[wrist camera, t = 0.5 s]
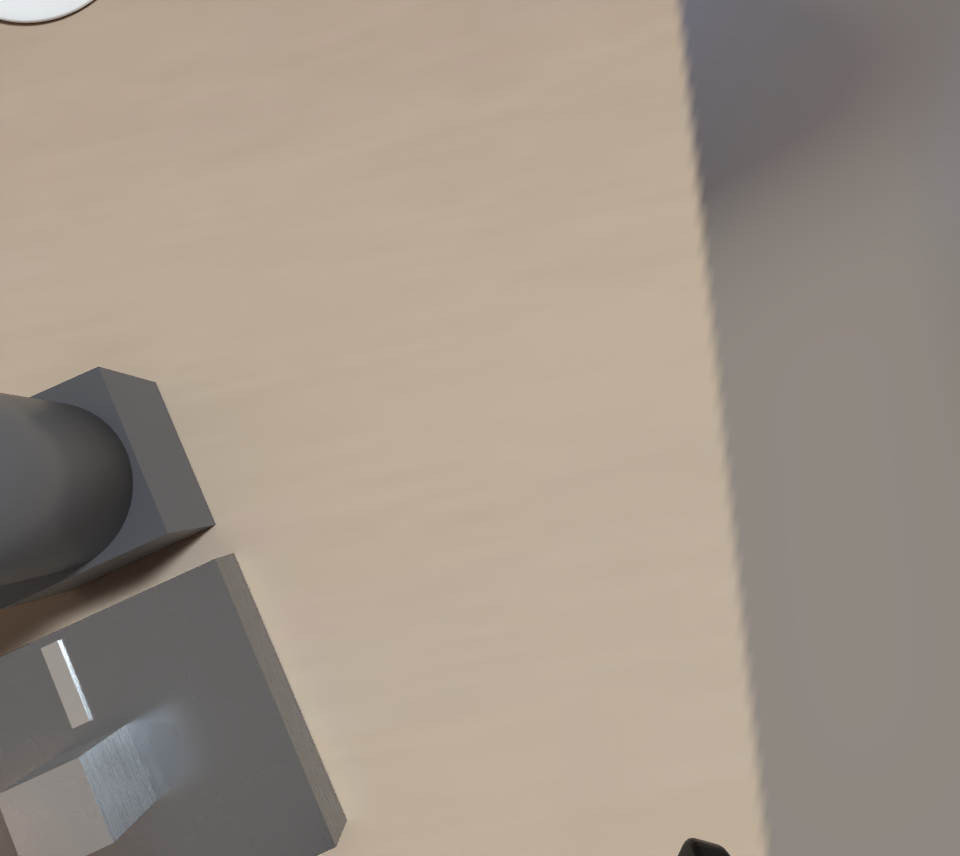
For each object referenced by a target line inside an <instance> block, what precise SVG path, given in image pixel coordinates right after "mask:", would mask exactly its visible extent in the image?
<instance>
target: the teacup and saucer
mask: <svg viewBox="0 0 960 856" xmlns="http://www.w3.org/2000/svg"><path fill="white" fill-rule="evenodd" d="M92 1H93V0H0V20H3V21H9V22H16V23H36V22H44V21H49V20H53V19H57V18H60V17H63V16H66V15H68V14H71V13H73V12H75V11H77V10H79V9H81V8H83V7H84V6H86V5H87V4H89V3H90V2H92Z"/></svg>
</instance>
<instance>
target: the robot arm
mask: <svg viewBox="0 0 960 856" xmlns="http://www.w3.org/2000/svg"><path fill="white" fill-rule="evenodd" d="M678 856H730V855H729V853H728V852H727V851H726V850H725V849H724V848H723V847H722V846H720V845H717V844H714V843H710V842H707V841H703V840H699V839H696V838H689V839H688V840H686V841H685V843H684V844H683V846H682V848H681V850H680V852H679V854H678Z"/></svg>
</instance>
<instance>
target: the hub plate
mask: <svg viewBox="0 0 960 856" xmlns="http://www.w3.org/2000/svg"><path fill="white" fill-rule="evenodd" d="M346 821H347V820H346V818H345V815H344V813H343V810H342V808H341V806H340V803H339V801H338V799H337V796H336V794H335V792H334V789H333V787H332V784H331V782H330V780H329V777H328V775H327V773H326V770H325V768H324V766H323V763H322V761H321V758H320V756H319V754H318V751H317V749H316V747H315V744H314V742H313V739H312V737H311V735H310V732H309V730H308V728H307V725H306V723H305V721H304V718H303V716H302V713H301V711H300V709H299V706H298V704H297V702H296V699H295V697H294V695H293V692H292V690H291V687H290V685H289V683H288V680H287V678H286V676H285V673H284V671H283V669H282V666H281V664H280V661H279V659H278V657H277V654H276V652H275V650H274V647H273V645H272V643H271V640H270V638H269V635H268V633H267V631H266V628H265V626H264V624H263V621H262V619H261V616H260V614H259V612H258V609H257V607H256V605H255V602H254V600H253V598H252V595H251V593H250V590H249V588H248V586H247V583H246V581H245V579H244V576H243V574H242V572H241V569H240V567H239V564H238V562H237V560H236V557H235V555H234V553H233V554H229V555H226V556H223V557H220V558H217V559H214V560H212V561H210V562H207V563H205V564H203V565H201V566H199V567H196V568H194V569H192V570H190V571H188V572H185V573H183V574H181V575H179V576H177V577H174V578H172V579H170V580H168V581H166V582H164V583H161V584H159V585H157V586H155V587H153V588H150V589H148V590H146V591H144V592H142V593H139V594H137V595H135V596H133V597H131V598H128V599H126V600H124V601H122V602H120V603H117V604H115V605H113V606H111V607H109V608H106V609H104V610H102V611H100V612H98V613H95V614H93V615H91V616H89V617H87V618H84V619H82V620H80V621H78V622H76V623H73V624H71V625H69V626H67V627H65V628H62V629H60V630H58V631H56V632H54V633H52V634H49V635H47V636H45V637H43V638H41V639H38V640H36V641H34V642H32V643H30V644H27V645H25V646H23V647H21V648H19V649H16V650H14V651H12V652H10V653H8V654H5V655H3V656H1V657H0V856H317V855H319V854H322V853H324V852H326V851H328V850H330V849H332V848H334V847H336V846H337V843H338V841H339V838H340V836H341V833H342V831H343V828H344V826H345V823H346Z"/></svg>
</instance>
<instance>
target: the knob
mask: <svg viewBox="0 0 960 856" xmlns="http://www.w3.org/2000/svg"><path fill="white" fill-rule="evenodd" d="M213 525H215V522H214V520H213V517H212V515H211V513H210V510H209V508H208V505H207V503H206V501H205V498H204V496H203V494H202V491H201V489H200V487H199V484H198V482H197V479H196V477H195V475H194V472H193V470H192V468H191V465H190V463H189V460H188V458H187V456H186V453H185V451H184V449H183V446H182V444H181V441H180V439H179V437H178V434H177V432H176V430H175V427H174V425H173V423H172V420H171V418H170V415H169V413H168V411H167V408H166V406H165V404H164V401H163V399H162V396H161V394H160V392H159V389H158V387H157V385H156V382H152V381H149V380H145V379H141V378H138V377H134V376H130V375H127V374H123V373H120V372H116V371H112V370H109V369H105V368H101V367H97V368H94V369H92V370H90V371H88V372H85V373H83V374H81V375H79V376H76V377H74V378H72V379H70V380H68V381H65V382H63V383H61V384H59V385H56V386H54V387H52V388H50V389H47V390H45V391H43V392H41V393H39V394H36V395H34V396H32V397H30V398H28V397H22V396H16V395H10V394H4V393H0V610H2V609H6V608H9V607H13V606H16V605H20V604H24V603H27V602H31V601H34V600H38V599H41V598H45V597H48V596H52V595H56V594H59V593H63V592H66V591H70V590H72V589H75V588H77V587H79V586H81V585H83V584H86V583H88V582H90V581H92V580H94V579H97V578H99V577H101V576H103V575H105V574H108V573H110V572H112V571H114V570H116V569H119V568H121V567H123V566H125V565H127V564H130V563H132V562H134V561H136V560H138V559H141V558H143V557H145V556H147V555H149V554H152V553H154V552H156V551H158V550H160V549H163V548H165V547H167V546H169V545H171V544H174V543H176V542H178V541H180V540H182V539H185V538H187V537H189V536H191V535H193V534H196V533H198V532H200V531H202V530H204V529H207V528H209V527H211V526H213Z"/></svg>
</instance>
